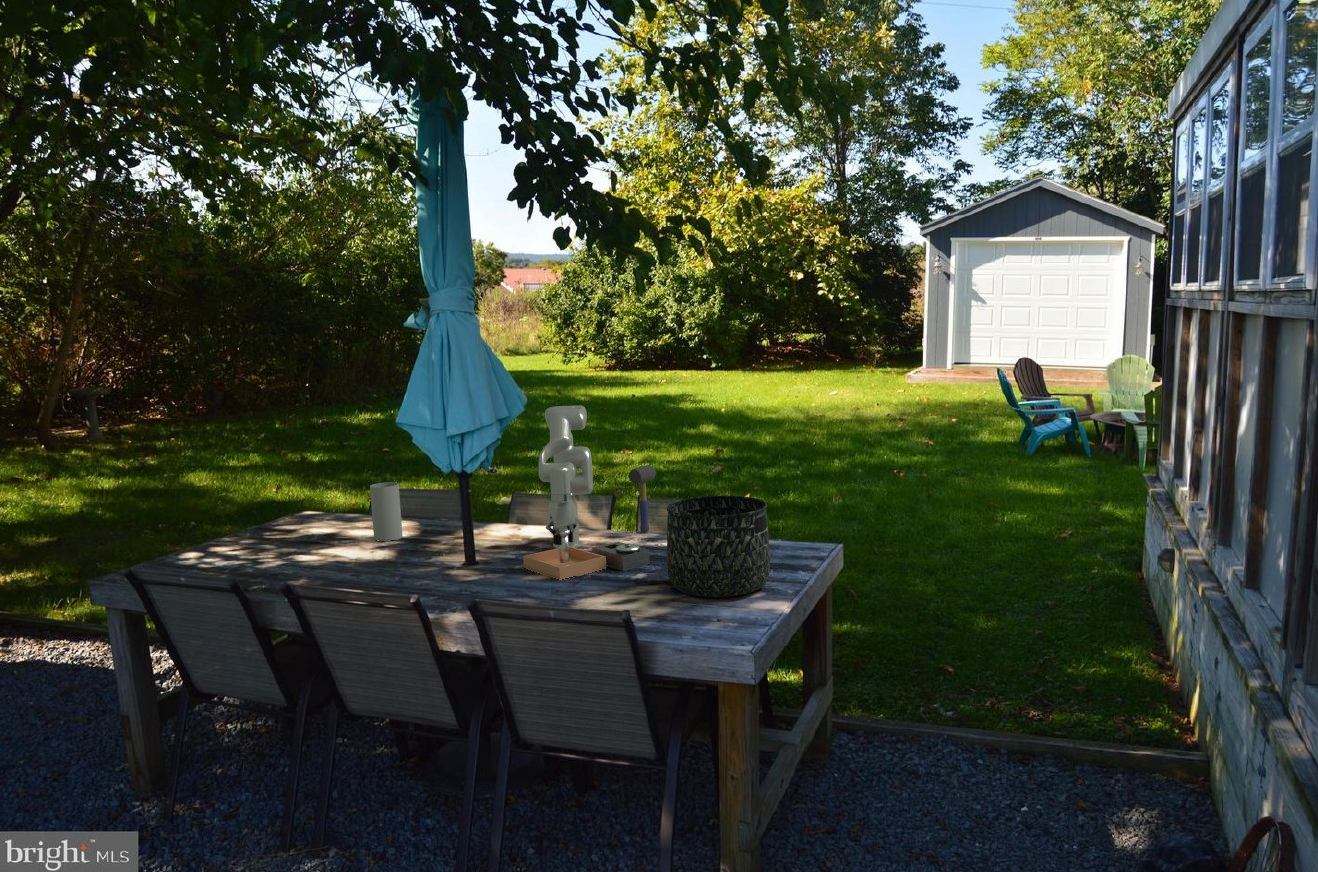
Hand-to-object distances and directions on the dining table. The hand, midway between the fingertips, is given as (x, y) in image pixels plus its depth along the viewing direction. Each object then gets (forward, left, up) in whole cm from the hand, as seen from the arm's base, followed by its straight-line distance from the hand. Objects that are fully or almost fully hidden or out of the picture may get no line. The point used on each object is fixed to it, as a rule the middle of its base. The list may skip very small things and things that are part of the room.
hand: (563, 542), depth 399 cm
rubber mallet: (-25, +60, -11) cm, 66 cm away
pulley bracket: (+10, +20, -10) cm, 25 cm away
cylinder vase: (-104, -26, -11) cm, 108 cm away
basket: (+63, +24, -11) cm, 68 cm away
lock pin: (0, 0, -7) cm, 7 cm away
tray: (0, 0, -10) cm, 10 cm away
